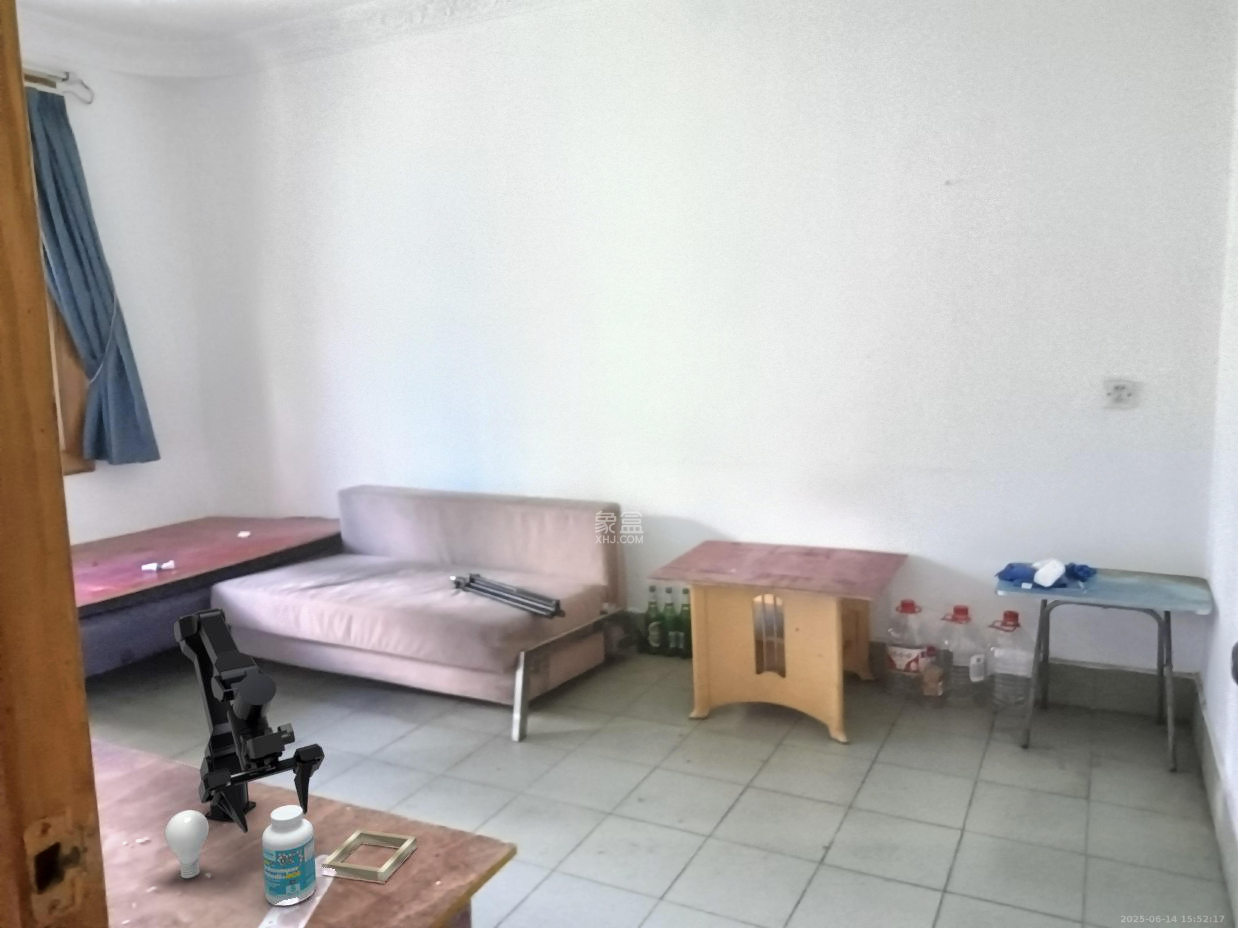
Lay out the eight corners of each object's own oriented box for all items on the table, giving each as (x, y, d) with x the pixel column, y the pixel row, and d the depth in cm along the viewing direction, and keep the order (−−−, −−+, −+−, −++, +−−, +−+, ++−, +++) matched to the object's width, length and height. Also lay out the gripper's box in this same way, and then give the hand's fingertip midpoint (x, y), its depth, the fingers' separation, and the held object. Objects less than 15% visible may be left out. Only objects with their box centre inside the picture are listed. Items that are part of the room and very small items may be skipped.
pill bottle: (256, 907, 139) (250, 822, 138) (280, 879, 147) (274, 799, 145) (303, 909, 139) (298, 824, 137) (325, 881, 146) (320, 801, 144)
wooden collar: (358, 839, 158) (358, 829, 158) (416, 847, 155) (416, 836, 155) (322, 874, 148) (321, 863, 148) (383, 884, 145) (383, 872, 145)
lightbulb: (170, 870, 150) (165, 806, 148) (213, 862, 152) (208, 799, 151) (166, 891, 144) (161, 825, 143) (211, 883, 146) (206, 817, 145)
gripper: (198, 725, 142) (222, 821, 135) (317, 696, 153) (345, 783, 146) (189, 756, 149) (211, 849, 142) (304, 726, 160) (330, 811, 153)
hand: (276, 822), depth 146 cm, fingers open, 9 cm apart
